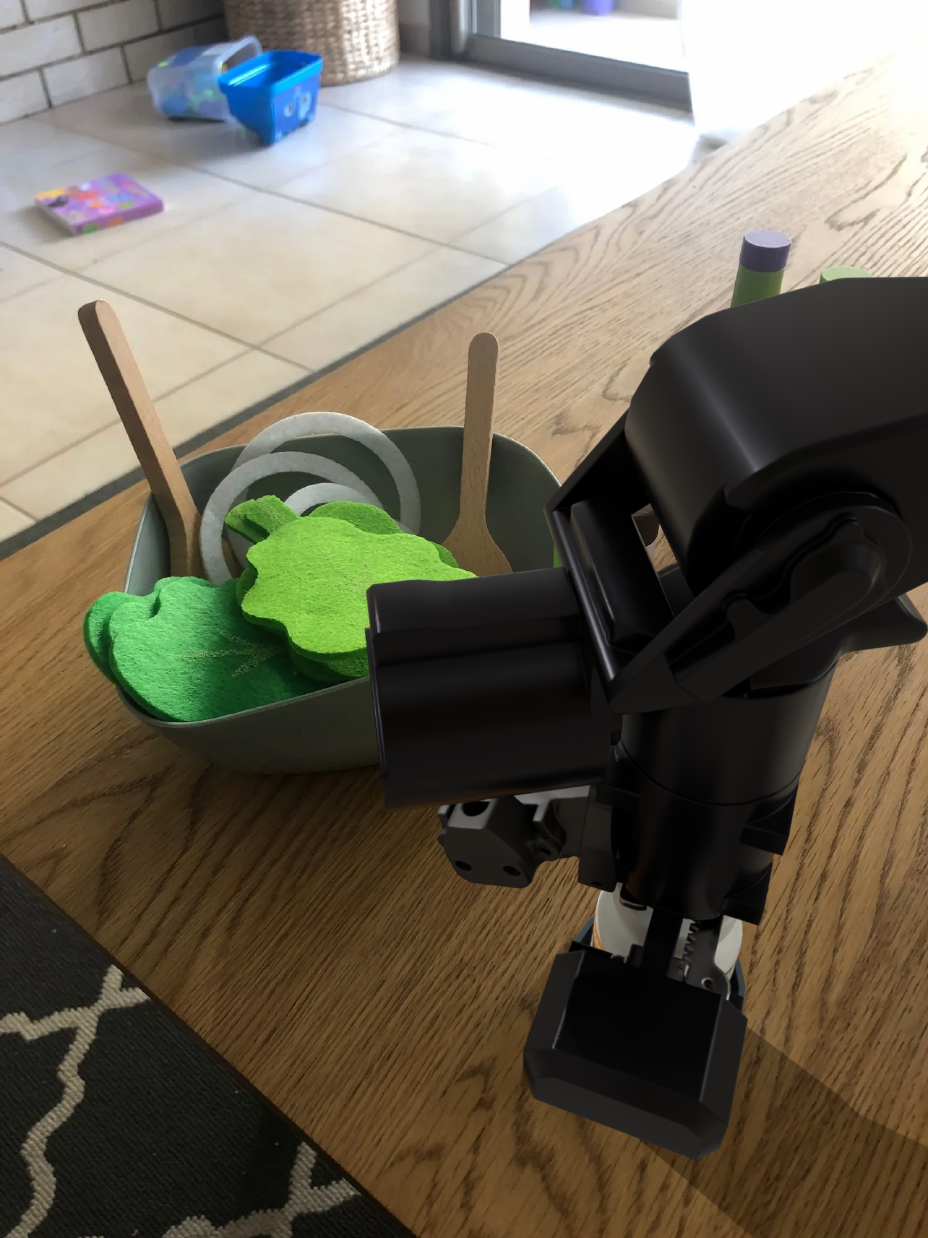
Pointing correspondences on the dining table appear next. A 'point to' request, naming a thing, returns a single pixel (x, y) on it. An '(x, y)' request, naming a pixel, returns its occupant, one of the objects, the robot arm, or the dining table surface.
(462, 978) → the dining table surface
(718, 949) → the pill bottle
